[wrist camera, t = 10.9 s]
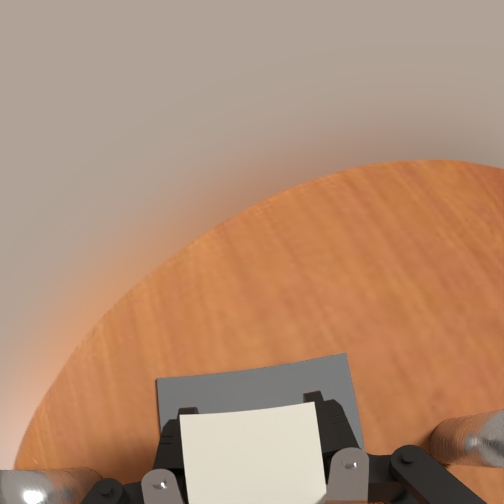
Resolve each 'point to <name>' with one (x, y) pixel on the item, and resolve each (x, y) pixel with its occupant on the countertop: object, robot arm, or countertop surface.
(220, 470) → the cream block
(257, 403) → the grey mat
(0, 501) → the posts
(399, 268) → the countertop surface
